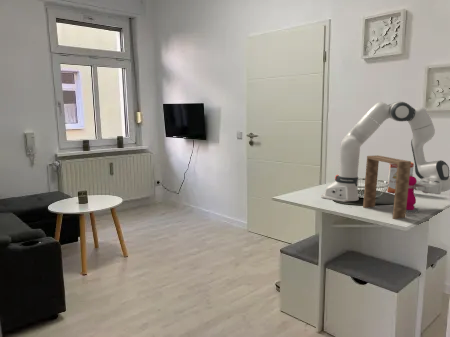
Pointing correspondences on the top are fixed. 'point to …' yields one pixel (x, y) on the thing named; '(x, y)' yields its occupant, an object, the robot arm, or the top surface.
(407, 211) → the charcoal mat
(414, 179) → the pepper mill
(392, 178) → the cracker box
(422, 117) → the robot arm
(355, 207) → the top surface
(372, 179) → the walnut arch
